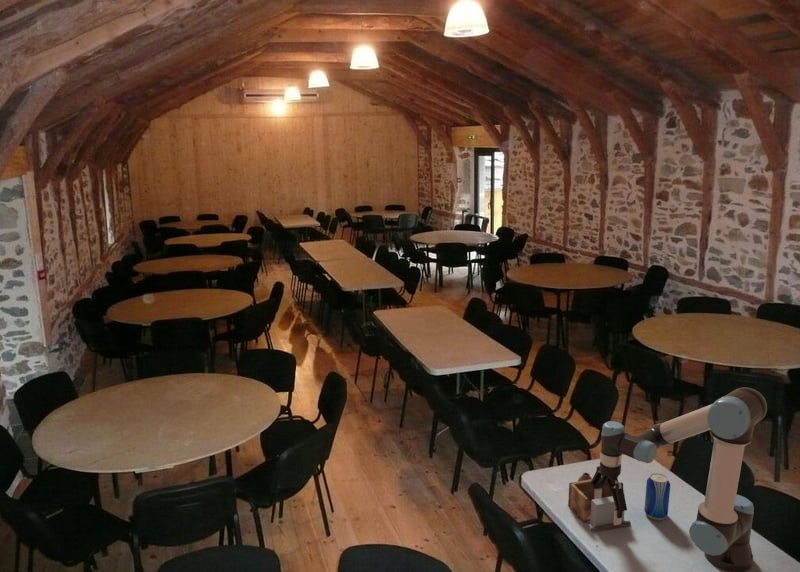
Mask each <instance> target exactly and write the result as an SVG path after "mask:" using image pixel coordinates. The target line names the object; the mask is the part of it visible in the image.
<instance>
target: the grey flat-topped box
mask: <svg viewBox="0 0 800 572" xmlns="http://www.w3.org/2000/svg"><path fill="white" fill-rule="evenodd" d="M615 508H616V506H615V503H614V500H613V496H611V497H605V498H599V499H594V500H591V516H590V522H589V524H590V526H591V527H598V526H603V525H608V524H614V510H615ZM624 519H625V511H623V513H622V520H621V522H624V521H625V520H624Z"/></svg>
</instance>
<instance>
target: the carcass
mask: <svg viewBox="0 0 800 572" xmlns="http://www.w3.org/2000/svg"><path fill="white" fill-rule="evenodd" d="M592 479H593V478H592ZM592 479H590V480H584V481H578V480H577V481H578V482H577V481H574V482H573V481H572V482H569V484H568V505H567V506H568V508H570V509H571V510H572V511H573V512H574V514H575V515H576V516H577V517H578V518H579V519H580V520H581V521H582V522H583V524H585V523H590V516H591V500H594V485H593V484H591V481H592ZM599 488H601V489H602V496H601V498H605V497H611V496H612V493H611V491H609V488H608V486H607V485H605V484H604V485H602V486H601V487H599ZM613 488H615V487H613ZM613 488H612V489H613ZM631 523H632V522H631V521H630V520H626V521H625V520H624V522H621V524H619V525H614V524H608V525H603V526H598V527H593V526H591V527H590V531H591V532H592V533H594V532H601V531H604V530H605V531H606V530H612V529H617V528H621V527H626V526H631Z"/></svg>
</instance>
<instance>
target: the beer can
mask: <svg viewBox="0 0 800 572" xmlns="http://www.w3.org/2000/svg"><path fill="white" fill-rule="evenodd" d="M645 486H646V487H645V498H644V499H645V500H644V507H643V508H644V509H643V511H644V513H645V514H646V516H647V518H650V519H652V520H655V521H663V520H665V519H666V518H667V517H668V515H669V505H670V504H669V503H670V494H671V482H670V481H669V478H668V476H667V475H665V474H664V473H663V474H662V473H659V472H656V473H655V472H653V473H651V474H650V475H649V477H648V478H647V479H646V484H645Z"/></svg>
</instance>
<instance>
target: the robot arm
mask: <svg viewBox="0 0 800 572" xmlns="http://www.w3.org/2000/svg"><path fill="white" fill-rule="evenodd" d="M767 411H768V403H767V400H766V398H765V397H764V396H763V395H762V393H760V391H758V390H756V389H754V388H751V387H746V386H745V387H739V388H736V389H734V390H732V391H731V392H729V393H728V394H726V395H724V396H721V397H719V398H717V399H716V400H715V401H714V402H713V403H711V404H708V405H706V406H703V407H701V408H698V409H696V410H693V411H691V412H687V413H685V414H682V415H680V416H677V417H675V418H672V419H670V420H667V421H664V422H662V423H657V424H653V425H652V426H650V427H649V428H647V429H646V430H644V431H643V432H641V433H639V434H637V435H633V434H630V433H628V432H626V431H625V426H624V425H623V424H622V423H620V422H618V421H613V420H612V421H611V420H610V421H606V422H605V423H603V425H602V430H601V439H600V440H601V443H600V444H601V445H600V453H599V456H600V457H599V466H596V470H595V473H594V475H593V477H592V481H591V484H593V485H594V499H599V498H601V496H602V489H601V488H599V487H601V486H602V485H604V484H605V485H607V486H608V488H609V491H611V493H612V496H613V500H614V503H615V506H616V508H615V510H614V525H619V524H621V520H622V513H623V511H624V512H626V511H627V510H628V506H627V503H626V502H627V501H626V497H625V492H624V491H625V490H624V483H623V482H620V481H619V480H618V478H619V476H620V475H621V472H622V457H623V455H625V456H626V457H629V458H632V459H634V460H636V461H637V462H641V463H645V464H651V463H652V462H654V460H655V458H656V456H657V454H658V449H660V448H662V447H665V446H668V445H671V444H674V443H676V442H679V441H682V440H684V439H687V438H690V437H693V436H696V435H700V434H702V433H705V432H707V431H710V432H709V433H710V435H711V437H712V438H713V439H714V440H713V446H712V453H711V460H710V466H709V473H708V478H707V484H706V491H705V497H704V501H703V502H701V503H699V505H698V507H697V514H696V519H695V520H694V521H693V522H692V523H691V525H690V527H689V532H688V533H689V537H690V539H691V541H692V543H694V545H695V547H696V548H697V549H698V550H700V551H701V552H703V554H704V557H705V558H706V559H707V561H708V562H710V563H711V564H713V565H714V566H716V567H718V568H720V569H723V570H724V571H725V570H726V571H728V572H747V571H749V570H750V569H752V567H753V566H754V555H753V552H752V548H751V543H750V542H751V541H750V540H751V533H752V527H753V526H752V525H753V519H754V514H755V513H754V510H755V507H754V503H753V502H752V501H751V500H750V499H748V498H747V497H745V496H743V495H740V494H737V492H738V486H739V481H740V475H741V470H742V463H743V458H744V454H745V453H744V452H745V447H746V446H748V445H750V444H751V443H752V440H753V433H754V428H755V426H756V425H757V424H758V423H759V422H761V421H762V420H763V419H764V418H765V417H766V414H767ZM613 487H615V488H613ZM612 488H613V489H612Z"/></svg>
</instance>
